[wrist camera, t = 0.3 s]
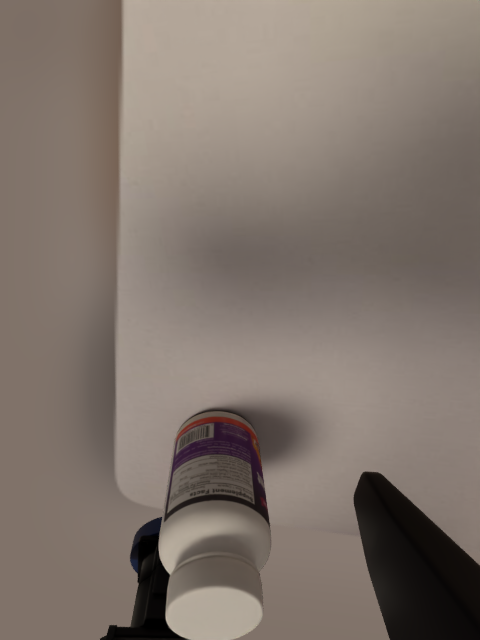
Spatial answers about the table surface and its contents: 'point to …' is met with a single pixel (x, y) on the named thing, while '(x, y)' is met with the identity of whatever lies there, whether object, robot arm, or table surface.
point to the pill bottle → (215, 529)
